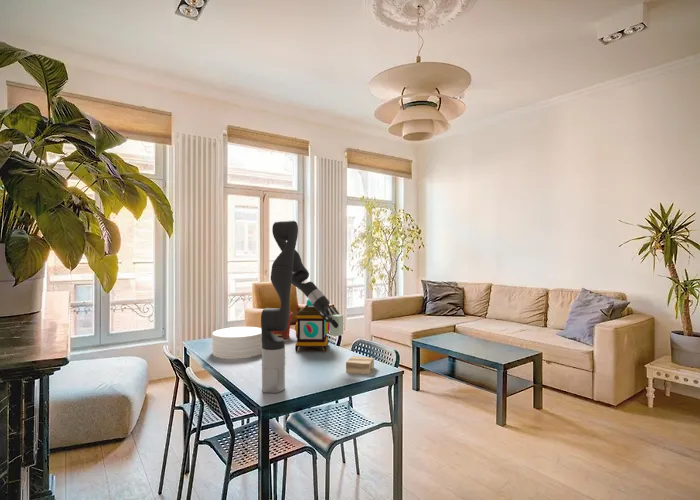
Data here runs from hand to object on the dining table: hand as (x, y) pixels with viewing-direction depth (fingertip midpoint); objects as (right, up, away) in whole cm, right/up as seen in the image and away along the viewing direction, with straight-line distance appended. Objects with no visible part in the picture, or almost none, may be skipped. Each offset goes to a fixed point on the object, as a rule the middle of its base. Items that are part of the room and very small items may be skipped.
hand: (339, 325), depth 194 cm
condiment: (-34, -20, +16) cm, 43 cm away
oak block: (+10, -20, -5) cm, 23 cm away
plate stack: (-57, -20, +27) cm, 66 cm away
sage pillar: (-2, -4, +1) cm, 5 cm away
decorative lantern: (-17, -20, +35) cm, 44 cm away
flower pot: (-41, -20, +62) cm, 77 cm away
